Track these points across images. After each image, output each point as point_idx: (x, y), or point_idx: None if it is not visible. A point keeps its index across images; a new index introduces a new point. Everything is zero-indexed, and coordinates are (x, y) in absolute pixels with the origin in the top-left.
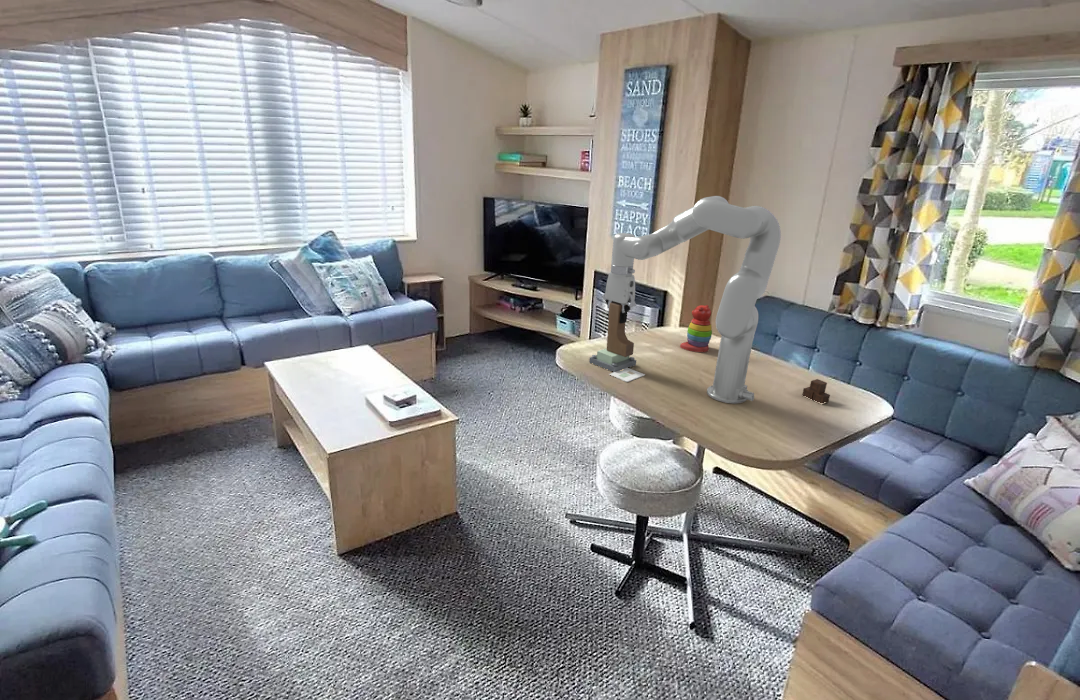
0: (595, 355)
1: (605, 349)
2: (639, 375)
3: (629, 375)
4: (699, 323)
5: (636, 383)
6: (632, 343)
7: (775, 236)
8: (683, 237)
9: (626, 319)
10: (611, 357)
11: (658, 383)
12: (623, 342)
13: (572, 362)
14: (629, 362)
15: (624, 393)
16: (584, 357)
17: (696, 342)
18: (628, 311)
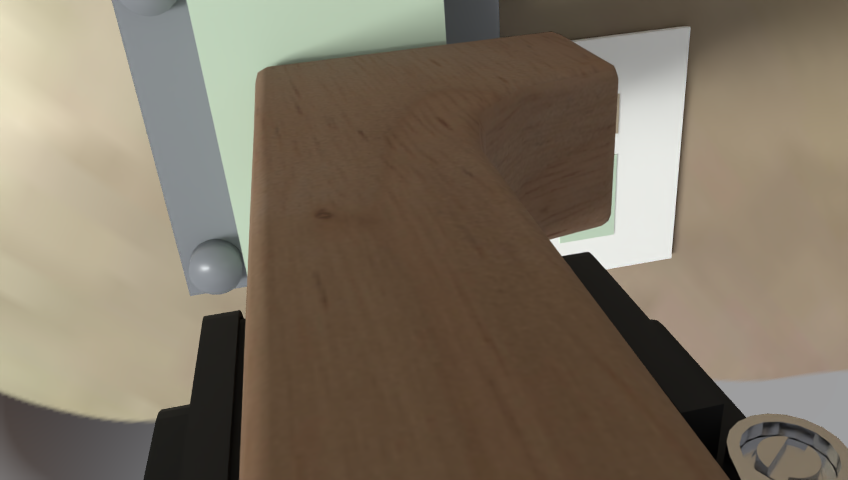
0: (213, 259)
1: (249, 193)
2: (668, 88)
3: (616, 165)
4: None
5: (724, 206)
6: (615, 99)
7: None
8: None
9: (659, 330)
10: None
11: (843, 53)
12: (547, 216)
13: (126, 387)
14: (499, 32)
15: (754, 372)
16: (47, 231)
17: None
18: (796, 427)
